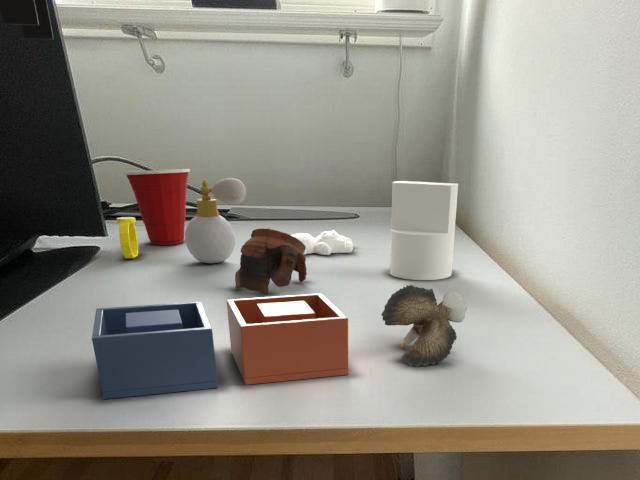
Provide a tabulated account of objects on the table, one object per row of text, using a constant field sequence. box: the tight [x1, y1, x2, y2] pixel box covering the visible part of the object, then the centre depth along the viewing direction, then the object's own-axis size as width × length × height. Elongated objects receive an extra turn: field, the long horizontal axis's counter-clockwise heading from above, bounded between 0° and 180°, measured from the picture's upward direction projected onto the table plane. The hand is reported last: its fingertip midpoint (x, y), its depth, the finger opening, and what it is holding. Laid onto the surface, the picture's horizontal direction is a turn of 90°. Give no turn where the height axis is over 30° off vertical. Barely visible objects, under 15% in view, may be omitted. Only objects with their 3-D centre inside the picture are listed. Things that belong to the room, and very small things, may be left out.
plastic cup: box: [123, 168, 191, 246], centre depth 114 cm, size 11×11×12 cm
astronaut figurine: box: [290, 229, 354, 256], centre depth 110 cm, size 9×12×3 cm
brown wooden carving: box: [234, 227, 308, 295], centre depth 86 cm, size 12×10×8 cm
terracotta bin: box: [226, 292, 349, 386], centre depth 60 cm, size 9×9×5 cm
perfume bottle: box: [184, 177, 247, 264], centre depth 99 cm, size 8×10×12 cm
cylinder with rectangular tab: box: [389, 180, 459, 281], centre depth 93 cm, size 9×9×12 cm
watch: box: [116, 216, 139, 259], centre depth 103 cm, size 6×3×6 cm, turn 6°
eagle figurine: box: [381, 284, 468, 367], centre depth 64 cm, size 8×7×9 cm
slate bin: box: [91, 301, 219, 400], centre depth 57 cm, size 9×9×5 cm
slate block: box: [125, 310, 183, 333], centre depth 57 cm, size 4×4×4 cm
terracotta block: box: [257, 301, 315, 323], centre depth 60 cm, size 4×4×4 cm
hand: (31, 32), depth 61 cm, fingers open, 13 cm apart
